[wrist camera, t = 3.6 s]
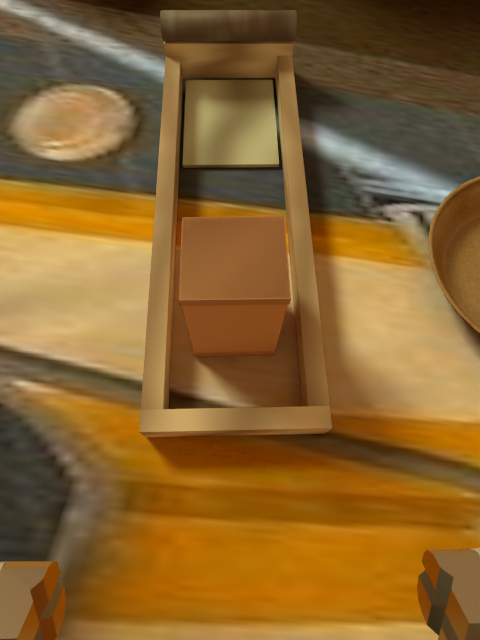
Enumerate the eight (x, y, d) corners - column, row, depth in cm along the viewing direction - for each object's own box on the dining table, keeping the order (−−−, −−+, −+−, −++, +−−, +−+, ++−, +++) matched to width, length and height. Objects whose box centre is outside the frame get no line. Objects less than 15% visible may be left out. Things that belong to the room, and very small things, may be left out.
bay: (146, 437, 24) (126, 422, 20) (170, 65, 37) (161, 4, 32) (324, 433, 25) (345, 417, 20) (287, 65, 37) (295, 4, 33)
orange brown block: (194, 356, 26) (179, 300, 19) (195, 291, 28) (182, 217, 21) (274, 355, 27) (290, 298, 19) (271, 290, 28) (284, 216, 21)
